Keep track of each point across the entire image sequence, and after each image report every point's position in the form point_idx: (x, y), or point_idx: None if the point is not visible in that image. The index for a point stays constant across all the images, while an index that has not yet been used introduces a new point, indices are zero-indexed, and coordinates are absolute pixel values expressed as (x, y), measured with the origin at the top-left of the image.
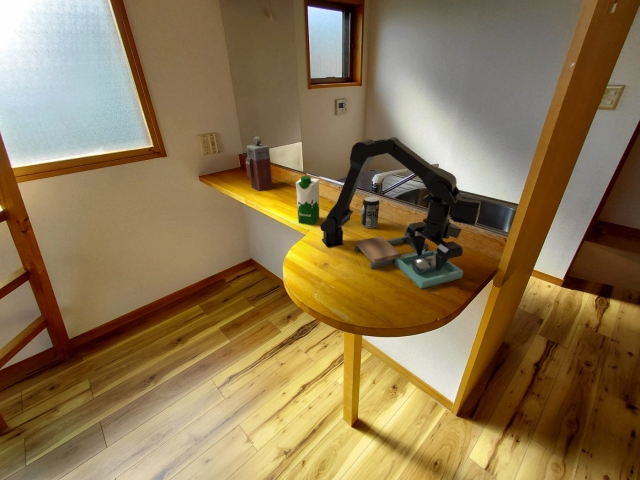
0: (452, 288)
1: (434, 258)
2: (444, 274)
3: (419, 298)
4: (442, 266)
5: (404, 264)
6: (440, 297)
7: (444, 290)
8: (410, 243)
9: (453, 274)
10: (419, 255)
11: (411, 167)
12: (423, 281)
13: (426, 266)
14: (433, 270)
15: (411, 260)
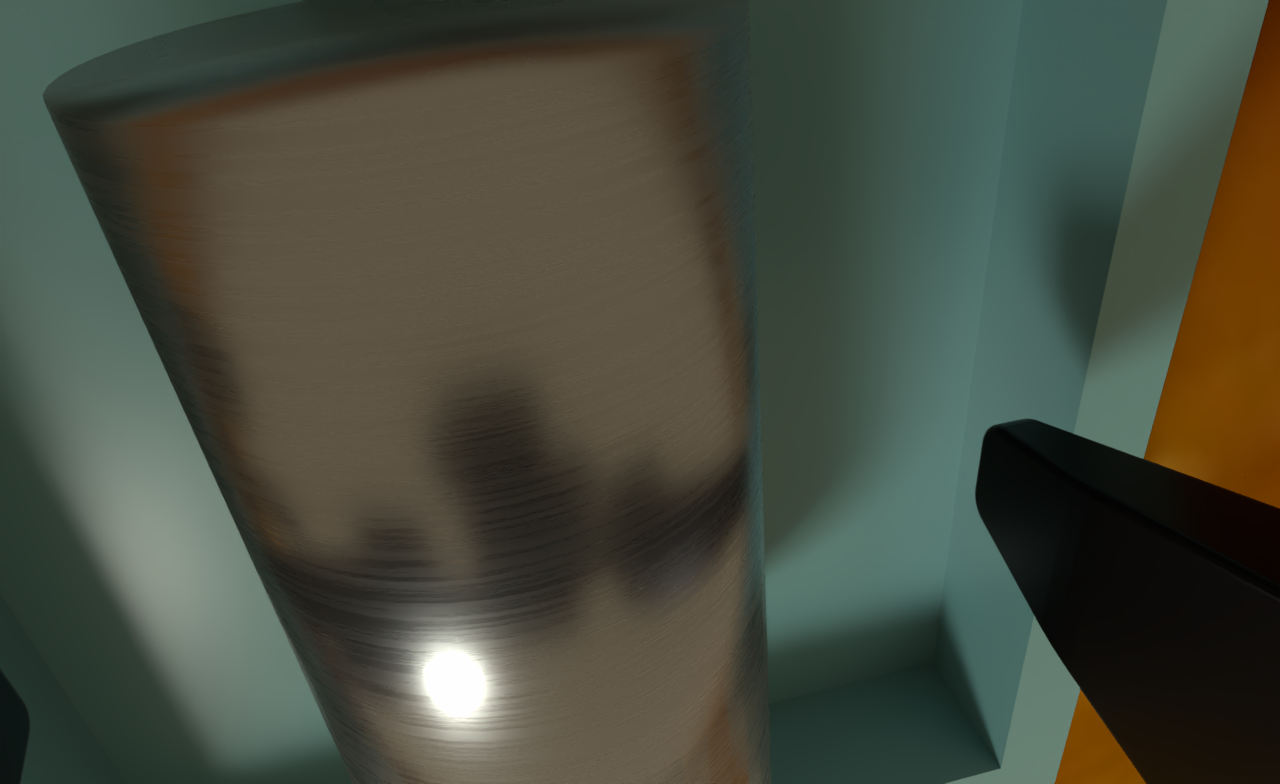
0: (1257, 152)
1: (631, 552)
2: (1117, 301)
3: (1102, 727)
4: (1199, 503)
5: None
6: (1262, 485)
7: (1197, 343)
8: None
9: (1252, 2)
10: (8, 701)
11: None
12: (1051, 776)
13: (768, 720)
14: None
15: (10, 650)
